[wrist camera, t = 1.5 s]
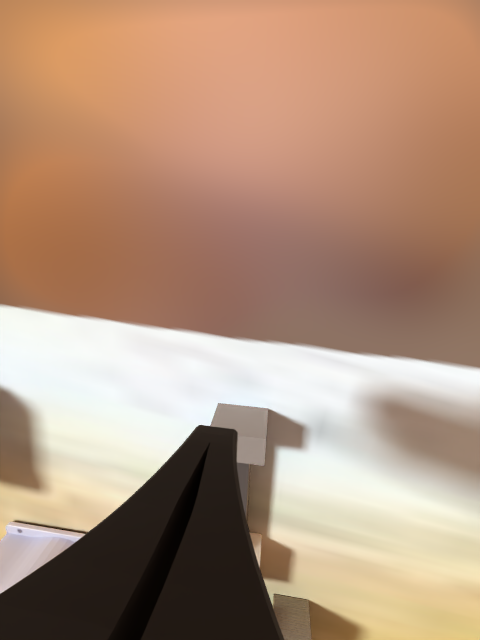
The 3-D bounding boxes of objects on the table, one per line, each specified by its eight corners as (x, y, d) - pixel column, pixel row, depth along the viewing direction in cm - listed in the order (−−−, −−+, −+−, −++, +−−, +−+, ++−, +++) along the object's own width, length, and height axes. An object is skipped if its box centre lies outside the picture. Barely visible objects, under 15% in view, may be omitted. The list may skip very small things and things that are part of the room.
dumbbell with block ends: (213, 559, 25) (205, 601, 22) (214, 402, 20) (204, 431, 17) (259, 567, 25) (256, 611, 22) (272, 408, 20) (270, 439, 17)
